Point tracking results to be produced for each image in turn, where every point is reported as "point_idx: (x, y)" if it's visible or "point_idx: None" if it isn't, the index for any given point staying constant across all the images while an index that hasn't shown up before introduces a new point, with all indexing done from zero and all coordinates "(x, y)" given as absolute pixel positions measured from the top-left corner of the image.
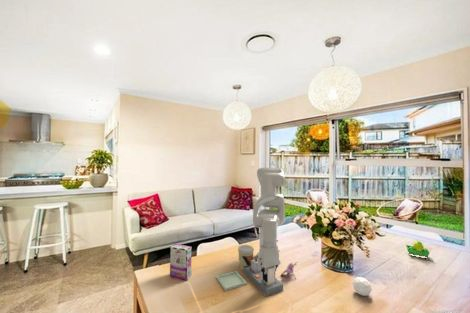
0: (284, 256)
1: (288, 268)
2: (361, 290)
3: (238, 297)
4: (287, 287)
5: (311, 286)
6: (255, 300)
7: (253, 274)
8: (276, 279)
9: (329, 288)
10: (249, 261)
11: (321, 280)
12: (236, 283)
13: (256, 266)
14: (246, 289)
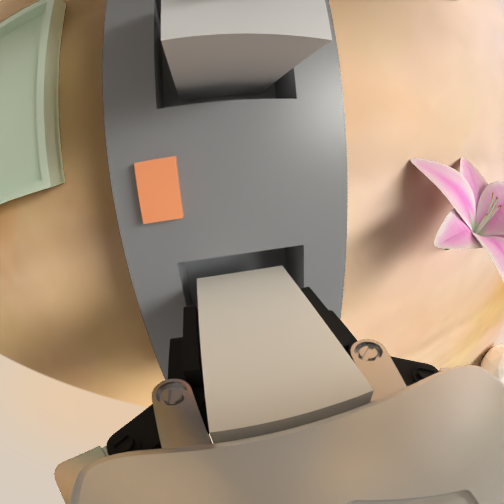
0: (492, 27)
1: (485, 242)
2: None
3: (6, 294)
4: (367, 294)
5: (451, 308)
6: (94, 351)
7: (134, 123)
8: (335, 295)
9: (472, 327)
10: None
11: (495, 277)
12: (1, 152)
13: (200, 61)
14: (54, 231)
